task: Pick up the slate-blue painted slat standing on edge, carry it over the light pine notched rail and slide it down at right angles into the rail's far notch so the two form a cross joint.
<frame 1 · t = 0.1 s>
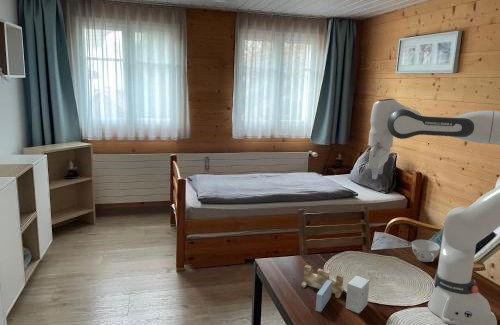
hand: (377, 176, 147), 48 cm above the table, fingers open, 8 cm apart
pine rail: (322, 288, 155), on the table
blue slat: (323, 303, 145), on the table
teacup: (424, 261, 182), on the table
small box: (356, 307, 143), on the table
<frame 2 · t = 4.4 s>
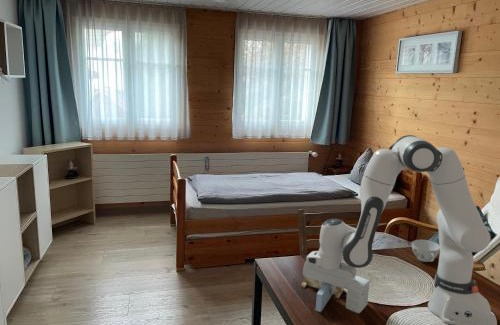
hand: (327, 292, 147), 3 cm above the table, fingers closed on blue slat, 2 cm apart
blue slat: (323, 303, 145), on the table, touching gripper
everything else where it was.
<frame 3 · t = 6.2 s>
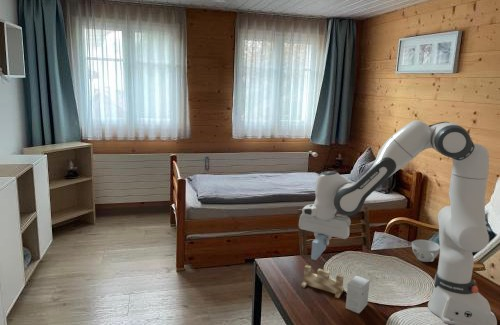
hand: (322, 243, 152), 20 cm above the table, fingers closed on blue slat
blue slat: (318, 253, 149), point 17 cm above the table, touching gripper
everything else where it was.
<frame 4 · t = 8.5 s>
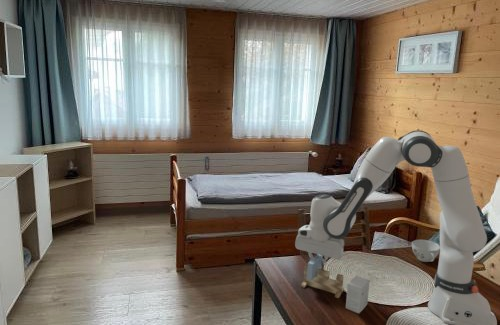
hand: (317, 263, 159), 9 cm above the table, fingers open, 3 cm apart
blue slat: (314, 274, 156), point 5 cm above the table, touching pine rail
everything else where it was.
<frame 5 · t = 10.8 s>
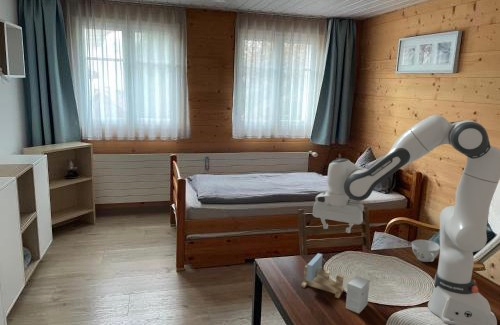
hand: (336, 230, 155), 24 cm above the table, fingers open, 8 cm apart
nothing on the table moved.
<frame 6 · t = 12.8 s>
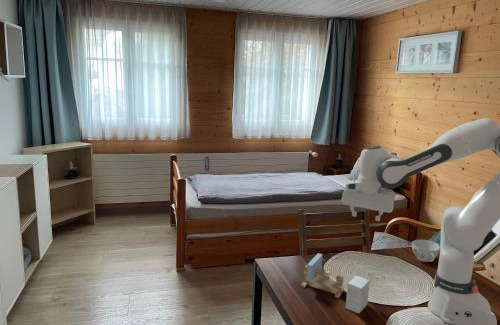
hand: (365, 218, 154), 29 cm above the table, fingers open, 8 cm apart
nothing on the table moved.
at the end: blue slat 0.1 cm from the target spot on the pine rail, point 5.0 cm above the pine rail's base; blue slat tilted 0°; blue slat touching pine rail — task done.
